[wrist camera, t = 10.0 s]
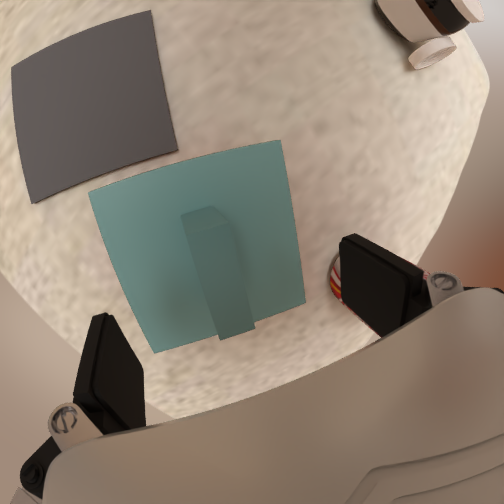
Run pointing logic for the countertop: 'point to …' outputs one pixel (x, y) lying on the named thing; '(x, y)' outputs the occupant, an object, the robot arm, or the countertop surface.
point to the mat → (90, 105)
